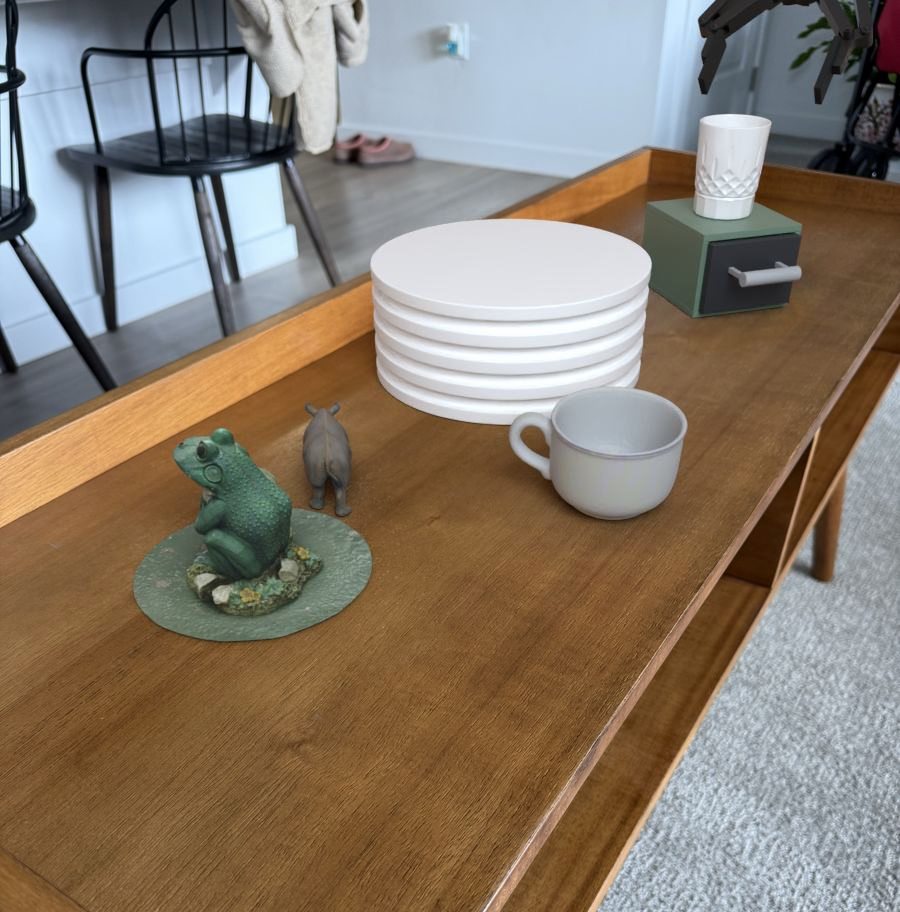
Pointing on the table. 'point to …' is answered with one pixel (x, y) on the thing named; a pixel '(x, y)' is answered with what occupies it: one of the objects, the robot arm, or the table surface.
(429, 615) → the table surface
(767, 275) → the drawer
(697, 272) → the cabinet
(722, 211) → the white cup
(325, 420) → the rhino figurine
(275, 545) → the frog figurine
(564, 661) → the table surface
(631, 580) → the table surface
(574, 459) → the teacup
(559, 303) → the plate stack
